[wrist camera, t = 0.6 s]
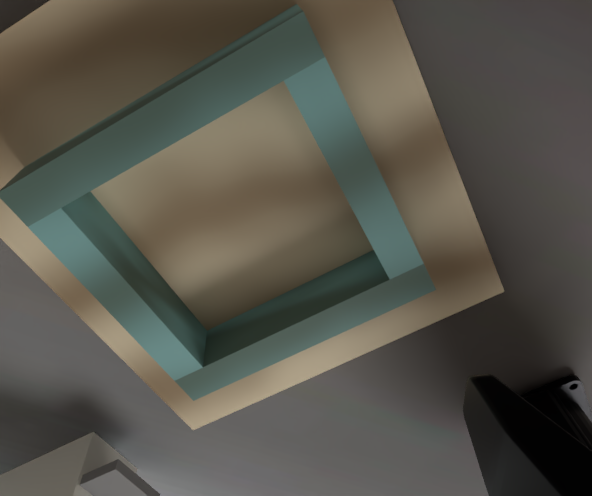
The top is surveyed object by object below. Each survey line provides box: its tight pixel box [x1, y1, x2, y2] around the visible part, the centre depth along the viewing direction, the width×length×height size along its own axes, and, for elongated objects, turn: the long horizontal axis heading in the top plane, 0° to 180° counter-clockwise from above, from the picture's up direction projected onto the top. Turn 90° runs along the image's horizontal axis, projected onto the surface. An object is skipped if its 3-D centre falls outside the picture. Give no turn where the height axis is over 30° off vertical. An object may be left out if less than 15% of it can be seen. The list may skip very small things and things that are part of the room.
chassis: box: [0, 0, 504, 430], centre depth 21 cm, size 20×18×4 cm
